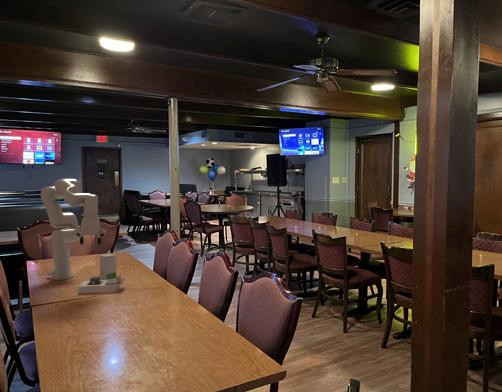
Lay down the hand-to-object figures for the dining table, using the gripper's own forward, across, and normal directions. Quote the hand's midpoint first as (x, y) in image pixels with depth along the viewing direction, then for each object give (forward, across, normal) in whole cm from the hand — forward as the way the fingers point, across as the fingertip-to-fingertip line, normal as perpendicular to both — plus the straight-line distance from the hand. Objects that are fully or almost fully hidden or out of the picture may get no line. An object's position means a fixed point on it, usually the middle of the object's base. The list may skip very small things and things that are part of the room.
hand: (90, 244), depth 227 cm
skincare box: (+26, +7, +14) cm, 30 cm away
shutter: (+20, +16, -8) cm, 27 cm away
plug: (+25, +5, -8) cm, 27 cm away
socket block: (+25, +7, -8) cm, 27 cm away
